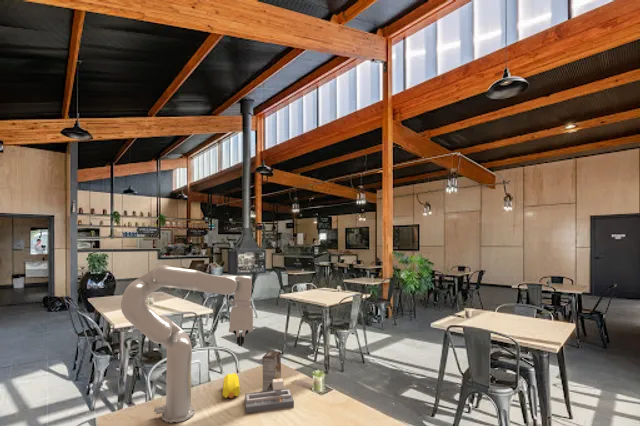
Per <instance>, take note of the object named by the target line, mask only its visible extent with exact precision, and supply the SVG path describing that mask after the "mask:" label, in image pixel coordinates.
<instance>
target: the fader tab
mask: <svg viewBox="0 0 640 426" xmlns="http://www.w3.org/2000/svg"><path fill="white" fill-rule="evenodd" d="M284 383H285V381H284V378H283V377H281V379H273V390H275V396H278V395H281V389H285V388H284V386H285V384H284Z"/></svg>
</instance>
